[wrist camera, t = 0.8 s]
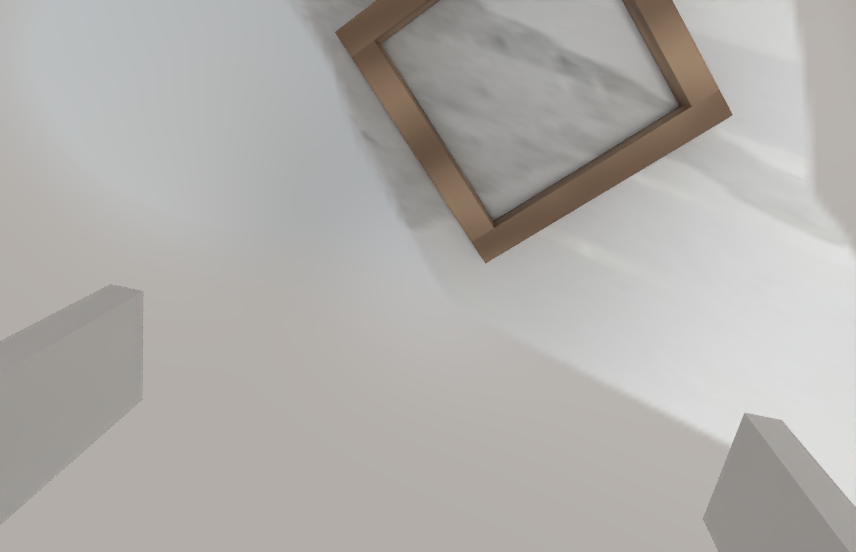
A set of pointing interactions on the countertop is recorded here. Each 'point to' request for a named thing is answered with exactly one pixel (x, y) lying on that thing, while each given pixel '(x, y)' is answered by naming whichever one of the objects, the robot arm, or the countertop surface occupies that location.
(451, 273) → the countertop surface
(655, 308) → the countertop surface
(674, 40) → the brown wooden square frame
